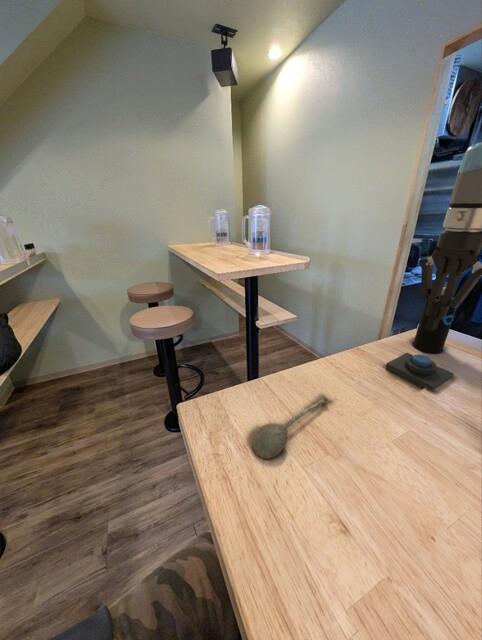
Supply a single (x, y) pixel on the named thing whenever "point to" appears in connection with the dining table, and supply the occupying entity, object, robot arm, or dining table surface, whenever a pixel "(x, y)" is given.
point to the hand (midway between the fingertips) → (430, 328)
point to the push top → (421, 360)
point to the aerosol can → (436, 338)
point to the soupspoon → (275, 435)
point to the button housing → (418, 372)
